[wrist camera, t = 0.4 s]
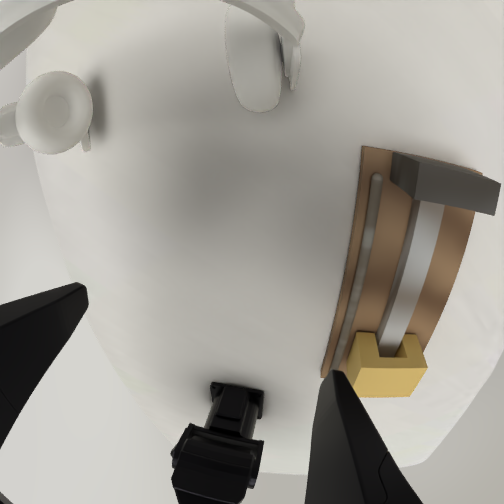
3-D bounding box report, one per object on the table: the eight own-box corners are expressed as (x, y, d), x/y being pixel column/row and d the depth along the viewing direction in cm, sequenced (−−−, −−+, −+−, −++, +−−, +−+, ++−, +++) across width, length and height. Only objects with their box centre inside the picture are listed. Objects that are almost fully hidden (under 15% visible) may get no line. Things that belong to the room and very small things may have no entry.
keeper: (402, 363, 23) (409, 396, 20) (346, 362, 24) (348, 396, 21) (416, 334, 22) (427, 367, 18) (356, 331, 22) (361, 367, 19)
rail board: (405, 373, 25) (415, 416, 20) (320, 370, 27) (318, 417, 22) (476, 170, 16) (520, 190, 10) (362, 145, 17) (384, 155, 12)
